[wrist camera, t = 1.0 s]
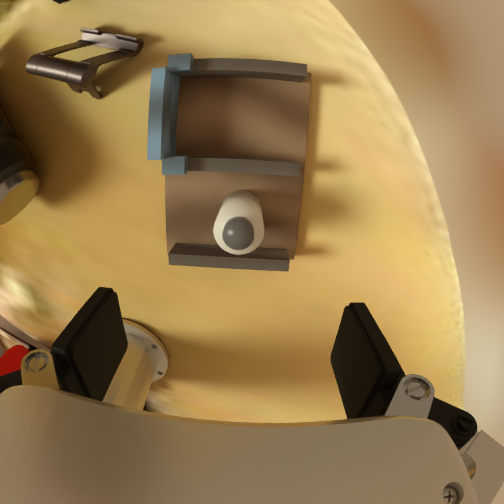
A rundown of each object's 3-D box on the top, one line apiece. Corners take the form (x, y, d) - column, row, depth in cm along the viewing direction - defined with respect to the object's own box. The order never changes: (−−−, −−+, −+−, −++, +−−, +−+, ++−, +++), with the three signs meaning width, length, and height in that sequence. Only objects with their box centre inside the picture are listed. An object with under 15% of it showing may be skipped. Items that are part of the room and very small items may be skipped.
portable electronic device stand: (147, 43, 22) (115, 18, 14) (115, 105, 25) (74, 98, 17) (90, 31, 21) (52, 12, 13) (63, 88, 23) (18, 82, 16)
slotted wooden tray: (292, 255, 32) (301, 281, 26) (168, 249, 31) (153, 272, 26) (309, 73, 24) (323, 58, 18) (172, 68, 24) (153, 54, 18)
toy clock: (26, 326, 37) (-30, 398, 19) (49, 343, 38) (-3, 422, 20) (28, 377, 44) (-8, 436, 25) (47, 391, 45) (13, 453, 26)
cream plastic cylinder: (259, 228, 29) (262, 261, 22) (221, 226, 29) (211, 258, 22) (262, 190, 28) (266, 211, 20) (222, 188, 28) (212, 208, 20)
